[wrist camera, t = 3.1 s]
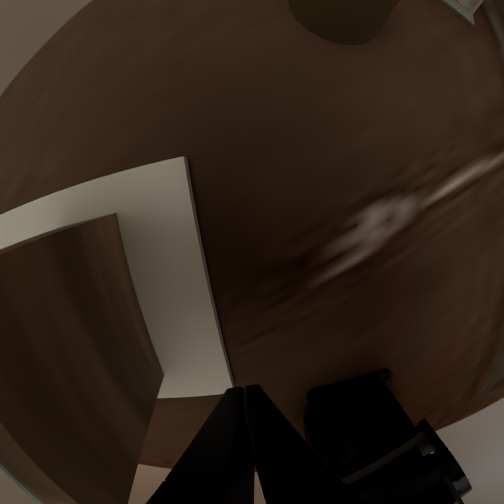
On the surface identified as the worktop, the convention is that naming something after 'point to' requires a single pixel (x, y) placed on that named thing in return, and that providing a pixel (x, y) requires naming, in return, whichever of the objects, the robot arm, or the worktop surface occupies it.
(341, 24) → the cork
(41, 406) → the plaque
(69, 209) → the board
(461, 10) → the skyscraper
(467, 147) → the worktop surface
